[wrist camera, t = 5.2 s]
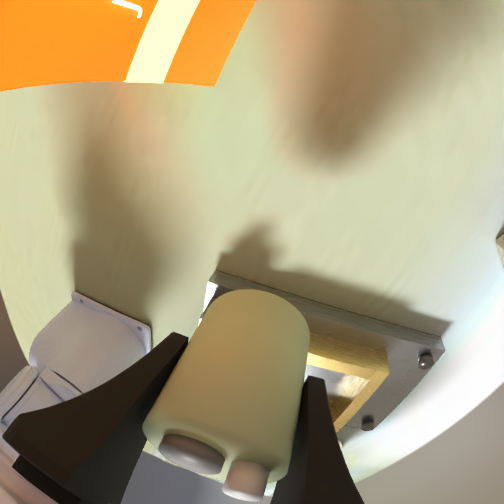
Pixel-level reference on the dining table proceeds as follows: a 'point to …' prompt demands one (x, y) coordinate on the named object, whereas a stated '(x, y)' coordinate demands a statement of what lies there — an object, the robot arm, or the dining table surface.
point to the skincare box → (501, 247)
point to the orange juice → (117, 40)
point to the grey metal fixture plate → (352, 355)
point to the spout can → (235, 394)
